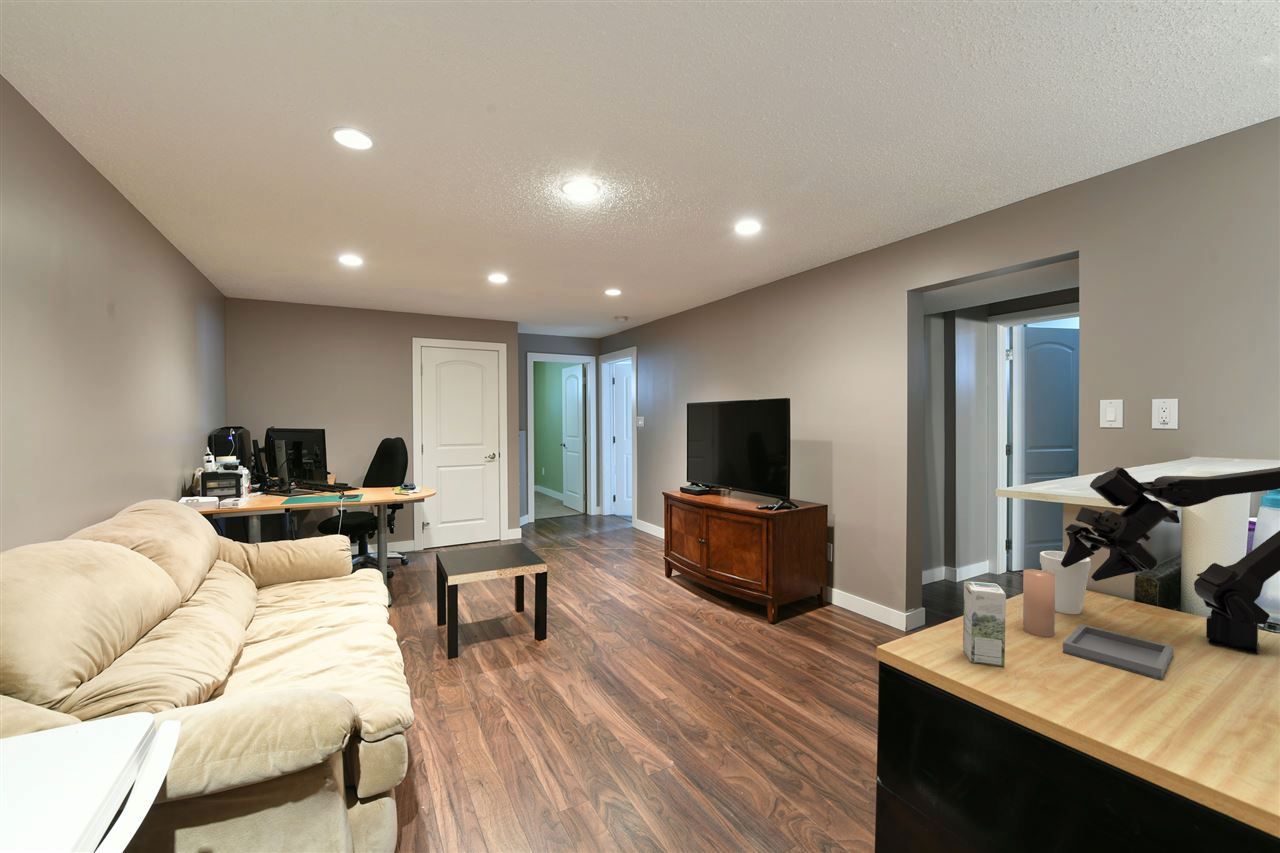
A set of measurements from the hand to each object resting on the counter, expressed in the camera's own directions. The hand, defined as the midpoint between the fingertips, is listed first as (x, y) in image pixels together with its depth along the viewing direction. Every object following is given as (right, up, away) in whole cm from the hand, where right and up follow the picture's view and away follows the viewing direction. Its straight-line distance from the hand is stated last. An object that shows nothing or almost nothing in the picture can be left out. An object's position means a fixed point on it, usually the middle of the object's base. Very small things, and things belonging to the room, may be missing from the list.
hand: (1077, 572), depth 112 cm
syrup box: (-27, -14, -11) cm, 32 cm away
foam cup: (+8, -13, +14) cm, 21 cm away
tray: (0, -14, -10) cm, 17 cm away
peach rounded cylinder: (-7, -13, +1) cm, 15 cm away
